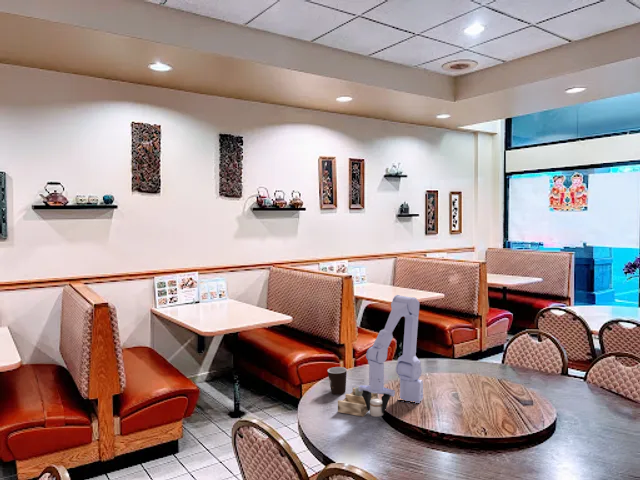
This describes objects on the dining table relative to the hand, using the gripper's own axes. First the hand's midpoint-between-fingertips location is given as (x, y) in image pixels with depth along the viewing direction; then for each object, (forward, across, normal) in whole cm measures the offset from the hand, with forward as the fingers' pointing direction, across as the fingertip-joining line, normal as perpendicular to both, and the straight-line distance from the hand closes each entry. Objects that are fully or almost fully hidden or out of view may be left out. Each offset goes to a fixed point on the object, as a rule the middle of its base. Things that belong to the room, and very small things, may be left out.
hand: (376, 411), depth 195 cm
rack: (+1, -10, +4) cm, 11 cm away
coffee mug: (+1, -24, +18) cm, 30 cm away
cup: (+2, 0, 0) cm, 2 cm away
